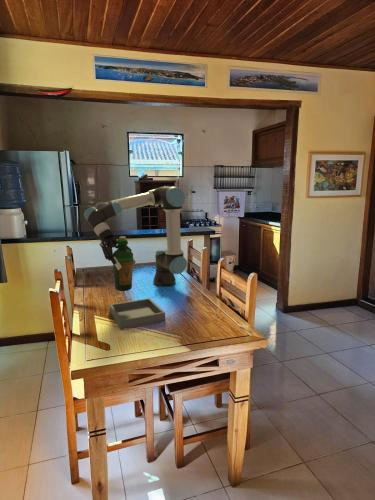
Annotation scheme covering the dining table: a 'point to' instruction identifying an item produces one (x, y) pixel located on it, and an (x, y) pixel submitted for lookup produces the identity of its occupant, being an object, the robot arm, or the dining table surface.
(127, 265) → the bottle
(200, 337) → the dining table surface
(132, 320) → the tray
